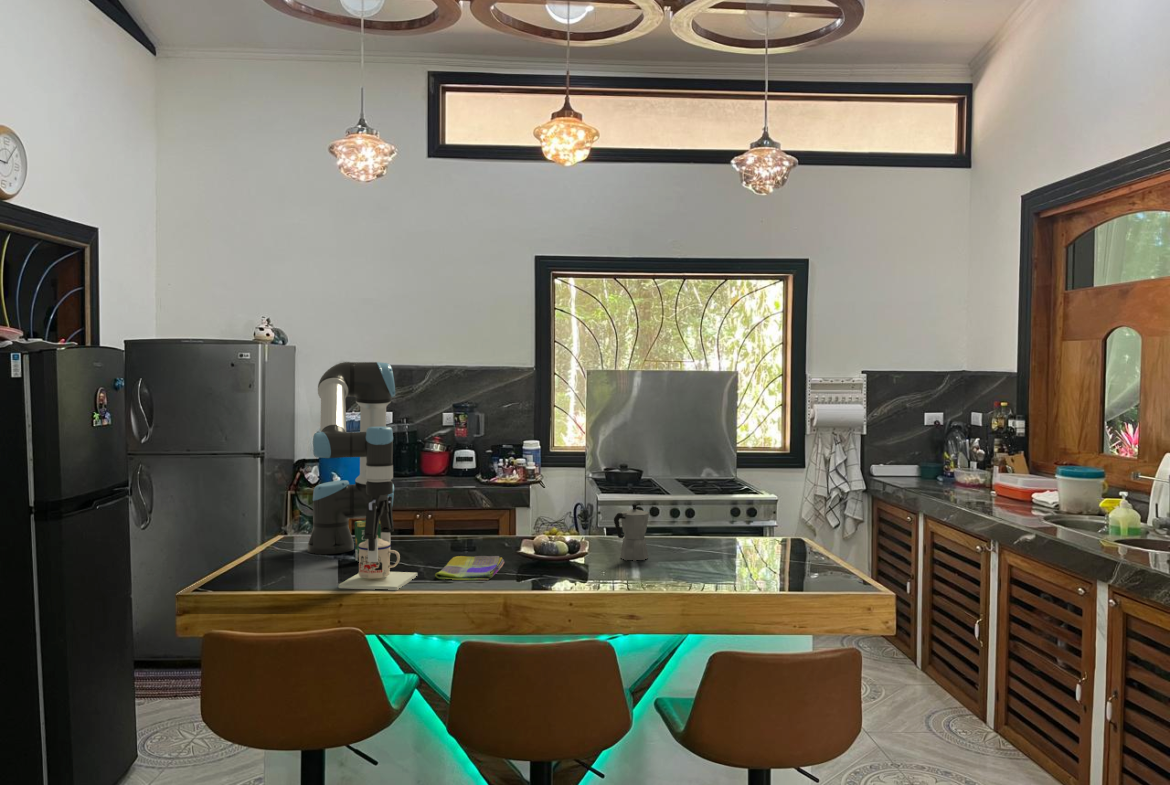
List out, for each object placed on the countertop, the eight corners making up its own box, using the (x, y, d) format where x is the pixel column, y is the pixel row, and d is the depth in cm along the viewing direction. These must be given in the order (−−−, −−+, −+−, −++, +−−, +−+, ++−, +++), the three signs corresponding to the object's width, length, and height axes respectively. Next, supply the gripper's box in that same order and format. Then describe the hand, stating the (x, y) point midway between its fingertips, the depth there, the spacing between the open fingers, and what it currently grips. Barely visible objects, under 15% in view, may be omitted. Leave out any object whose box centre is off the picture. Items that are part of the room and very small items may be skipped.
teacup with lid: (353, 578, 233) (353, 537, 233) (364, 571, 242) (364, 531, 242) (394, 579, 232) (394, 538, 232) (404, 572, 241) (404, 532, 241)
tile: (362, 573, 246) (362, 570, 246) (417, 575, 244) (417, 572, 244) (338, 588, 229) (338, 584, 229) (397, 590, 227) (397, 586, 227)
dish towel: (431, 581, 240) (431, 571, 240) (452, 563, 265) (452, 554, 265) (490, 582, 239) (490, 573, 239) (505, 564, 263) (505, 555, 263)
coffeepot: (639, 553, 278) (639, 500, 278) (658, 558, 271) (659, 503, 270) (604, 559, 268) (604, 504, 268) (624, 564, 261) (624, 508, 261)
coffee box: (356, 563, 261) (356, 522, 261) (354, 561, 263) (354, 520, 263) (381, 560, 265) (381, 519, 265) (378, 558, 268) (379, 518, 267)
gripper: (381, 475, 248) (381, 550, 248) (351, 484, 226) (351, 566, 226) (405, 476, 247) (404, 550, 247) (377, 485, 225) (377, 566, 225)
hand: (379, 558), depth 237 cm, fingers closed on teacup with lid, 9 cm apart
